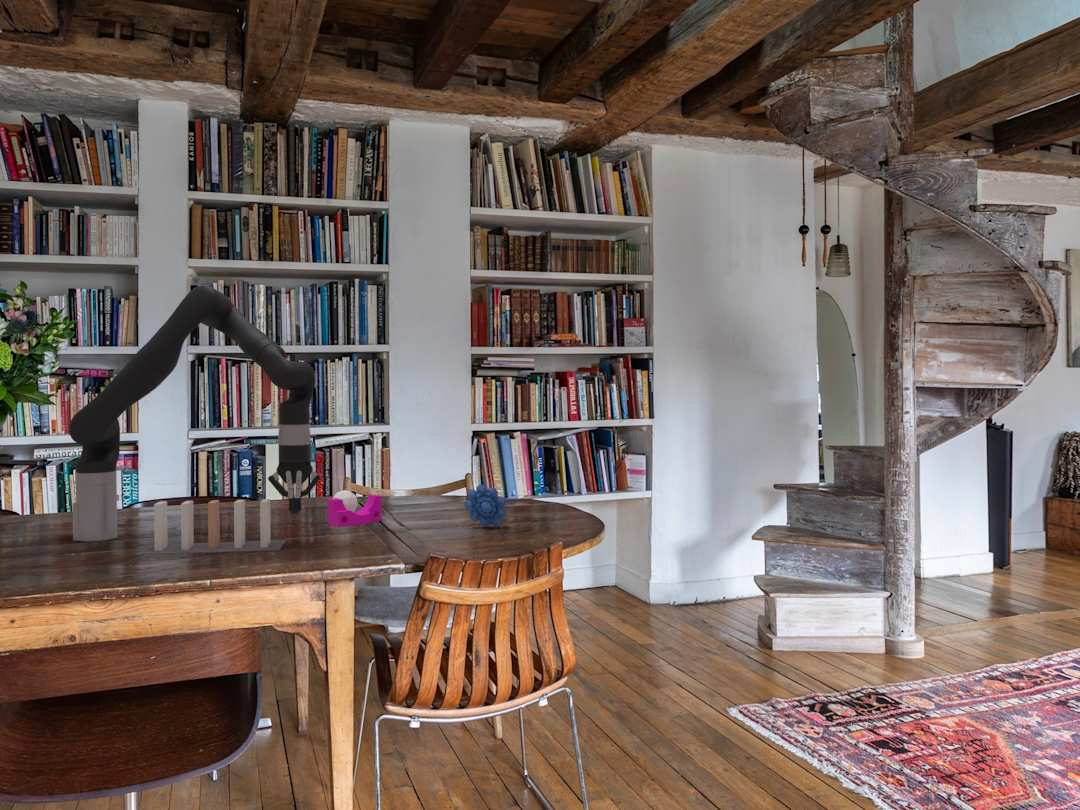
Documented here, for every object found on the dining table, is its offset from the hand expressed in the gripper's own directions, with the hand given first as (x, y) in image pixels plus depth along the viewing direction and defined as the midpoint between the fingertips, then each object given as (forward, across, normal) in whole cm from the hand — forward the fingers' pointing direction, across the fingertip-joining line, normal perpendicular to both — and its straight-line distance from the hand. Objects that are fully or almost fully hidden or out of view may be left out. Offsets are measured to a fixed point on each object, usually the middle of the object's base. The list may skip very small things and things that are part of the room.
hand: (295, 513), depth 202 cm
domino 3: (+8, +19, 0) cm, 21 cm away
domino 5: (+8, +7, 0) cm, 10 cm away
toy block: (+9, -13, -32) cm, 36 cm away
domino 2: (+8, +25, 0) cm, 26 cm away
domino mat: (+8, +19, 0) cm, 21 cm away
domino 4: (+8, +13, 0) cm, 15 cm away
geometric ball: (+8, -9, -45) cm, 47 cm away
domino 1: (+8, +31, 0) cm, 32 cm away
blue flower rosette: (+8, -49, -18) cm, 53 cm away
